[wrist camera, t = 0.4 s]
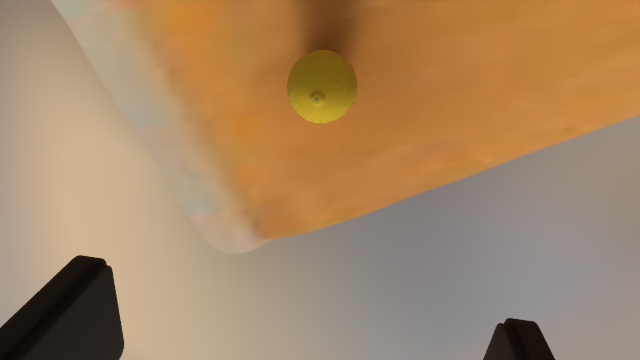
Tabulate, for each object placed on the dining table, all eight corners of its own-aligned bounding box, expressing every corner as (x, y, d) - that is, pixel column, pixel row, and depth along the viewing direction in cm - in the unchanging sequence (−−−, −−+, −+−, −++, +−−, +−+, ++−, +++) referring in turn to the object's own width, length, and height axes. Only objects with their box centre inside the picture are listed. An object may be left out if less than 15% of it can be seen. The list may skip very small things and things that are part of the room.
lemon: (361, 45, 35) (359, 63, 28) (354, 109, 37) (351, 140, 30) (296, 40, 35) (279, 56, 28) (294, 103, 38) (277, 132, 30)
